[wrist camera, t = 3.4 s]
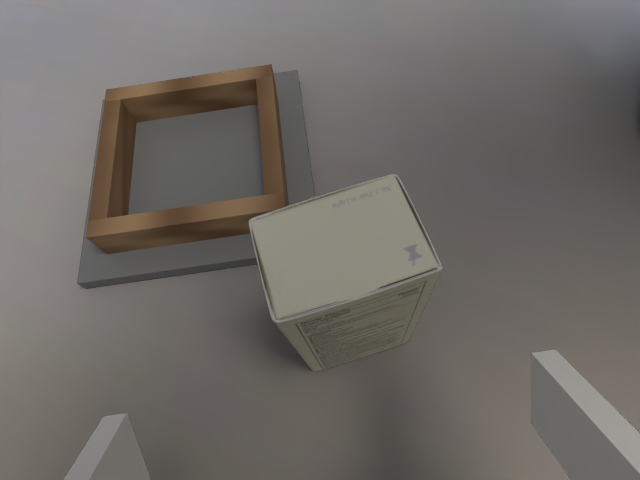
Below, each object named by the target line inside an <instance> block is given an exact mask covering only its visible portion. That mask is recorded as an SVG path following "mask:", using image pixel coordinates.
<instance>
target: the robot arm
mask: <svg viewBox="0 0 640 480" xmlns="http://www.w3.org/2000/svg"><path fill="white" fill-rule="evenodd" d="M531 424H532V425H533V426H534V428H535V429H536V431H537V432H538V434H539V435H540V436H541V438H542V439H543V441H544V442H545V444H546V445H547V446H548V448H549V449H550V451H551V452H552V454H553V455H554V456H555V458H556V459H557V461H558V462H559V463H560V465H561V466H562V468H563V469H564V471H565V472H566V473H567V475H568V476H569V478H570V479H571V480H640V433H639V432H638V431H637V430H636V429H635V428H634V427H633V426H632V425H631V424H630V423H629V422H628V421H627V420H626V419H625V418H624V417H623V416H622V415H621V414H620V413H619V412H618V411H617V410H616V409H615V408H614V407H613V406H612V405H611V404H610V403H609V402H608V401H607V400H606V399H605V398H604V397H603V396H602V395H601V394H600V393H599V392H598V391H597V390H596V389H595V388H594V387H593V386H592V385H591V384H590V383H589V382H588V381H587V380H586V379H584V378H583V377H582V376H581V375H580V374H579V373H578V372H577V371H576V370H575V369H574V368H573V367H572V366H571V365H570V364H569V363H568V362H567V361H566V360H565V359H564V358H563V357H562V356H561V355H560V354H559V353H558V352H557V351H556V350H548V351H541V352H535V353H531ZM64 480H150V476H149V473H148V470H147V468H146V465H145V462H144V459H143V456H142V454H141V451H140V448H139V445H138V442H137V440H136V437H135V434H134V431H133V428H132V426H131V423H130V420H129V417H128V414H127V413H123V414H116V415H109V416H104V417H103V418H102V420H101V421H100V423H99V425H98V426H97V428H96V429H95V431H94V432H93V434H92V436H91V437H90V439H89V440H88V442H87V443H86V445H85V447H84V448H83V450H82V451H81V453H80V455H79V456H78V458H77V459H76V461H75V462H74V464H73V466H72V467H71V469H70V470H69V472H68V473H67V475H66V477H65V478H64Z"/></svg>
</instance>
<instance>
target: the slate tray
mask: <svg viewBox="0 0 640 480" xmlns="http://www.w3.org/2000/svg"><path fill="white" fill-rule="evenodd" d="M274 79H275V83H276V88H277V94H278V104H279V114H280V124H281V133H282V143H283V153H284V162H285V172H286V182H287V191H288V201H289V205H292V204H296V203H299V202H302V201H305V200H308V199H310V198H314V197H315V194H314V187H313V180H312V172H311V165H310V157H309V150H308V143H307V135H306V128H305V121H304V113H303V106H302V99H301V91H300V84H299V77H298V71H297V70H296V71H289V72H282V73H276V74H274ZM104 102H105V100H103V104H102V111H101V118H100V125H99V132H98V139H97V146H96V153H95V160H94V167H93V175H92V182H91V189H90V196H89V203H88V210H87V217H86V224H85V231H84V238H83V246H82V253H81V260H80V267H79V274H78V281H77V284H79V285H81V286H82V287H84V288H86V289H87V288H94V287H101V286H108V285H115V284H121V283H128V282H135V281H142V280H149V279H156V278H163V277H170V276H177V275H184V274H191V273H198V272H205V271H212V270H219V269H226V268H233V267H240V266H246V265H253V264H258V263H257V259H256V255H255V250H254V245H253V241H252V236H251V234H244V235H237V236H230V237H223V238H217V239H210V240H203V241H196V242H189V243H182V244H175V245H168V246H162V247H155V248H148V249H141V250H134V251H127V252H120V253H113V254H106V253H105V252H103V251H102V250H101V249H100V248H98V247H97V246H96V245H94V244H93V243H92V242H90V241H89V240H88V239H87V238H86V232H87V225H88V218H89V210H90V203H91V196H92V189H93V181H94V174H95V167H96V160H97V153H98V145H99V138H100V131H101V124H102V116H103V109H104ZM261 195H265V192H264V179H263V165H262V152H261V138H260V125H259V112H258V104H257V105H250V106H244V107H237V108H230V109H224V110H217V111H211V112H204V113H197V114H191V115H184V116H177V117H171V118H164V119H158V120H151V121H144V122H138V123H137V124H136V135H135V146H134V157H133V168H132V179H131V190H130V201H129V212H128V215H131V214H138V213H145V212H152V211H159V210H165V209H172V208H179V207H186V206H193V205H199V204H206V203H213V202H220V201H227V200H233V199H240V198H247V197H254V196H261Z"/></svg>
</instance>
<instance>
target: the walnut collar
mask: <svg viewBox="0 0 640 480" xmlns="http://www.w3.org/2000/svg"><path fill="white" fill-rule="evenodd" d="M257 104H258V112H259V125H260V138H261V152H262V165H263V179H264V192H265V195H261V196H254V197H247V198H240V199H233V200H227V201H220V202H213V203H206V204H199V205H193V206H186V207H179V208H172V209H165V210H159V211H152V212H145V213H138V214H131V215H128V212H129V201H130V190H131V179H132V168H133V157H134V146H135V135H136V124H137V123H138V122H144V121H151V120H158V119H164V118H171V117H177V116H184V115H191V114H197V113H204V112H211V111H217V110H224V109H230V108H237V107H244V106H250V105H257ZM287 206H289V201H288V191H287V182H286V172H285V162H284V153H283V143H282V133H281V124H280V114H279V104H278V94H277V88H276V83H275V79H274V74H273V70H272V66H271V65H264V66H258V67H251V68H245V69H238V70H232V71H225V72H219V73H212V74H206V75H199V76H192V77H186V78H179V79H173V80H166V81H160V82H153V83H147V84H140V85H134V86H127V87H121V88H114V89H107V90H106V95H105V102H104V109H103V116H102V124H101V131H100V138H99V145H98V153H97V160H96V167H95V174H94V181H93V189H92V196H91V203H90V210H89V218H88V225H87V232H86V238H87V239H88V240H89V241H90V242H92V243H93V244H94V245H96V246H97V247H98V248H100V249H101V250H102V251H103V252H105V253H106V254H113V253H120V252H127V251H134V250H141V249H148V248H155V247H162V246H168V245H175V244H182V243H189V242H196V241H203V240H210V239H217V238H223V237H230V236H237V235H244V234H251V232H250V228H249V220H250V219H252V218H254V217H257V216H260V215H263V214H265V213H269V212H272V211H275V210H278V209H281V208H284V207H287Z"/></svg>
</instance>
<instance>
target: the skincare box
mask: <svg viewBox="0 0 640 480" xmlns="http://www.w3.org/2000/svg"><path fill="white" fill-rule="evenodd" d="M249 228H250V232H251V236H252V241H253V245H254V250H255V255H256V259H257V263H258V268H259V272H260V276H261V281H262V285H263V289H264V293H265V296H266V300H267V304H268V308H269V312H270V315H271V319H272V320H273V322H274V323H275V324H276V325H277V326H278V328H279V329H280V330H281V331H282V333H283V334H284V335H285V336H286V338H287V339H288V340H289V342H290V343H291V344H292V345H293V347H294V348H295V349H296V350H297V352H298V353H299V354H300V356H301V357H302V358H303V360H304V361H305V362H306V363H307V365H308V366H309V367H310V368H311V370H312V371H314V372H316V371H320V370H323V369H327V368H330V367H333V366H337V365H340V364H343V363H346V362H350V361H353V360H356V359H359V358H362V357H365V356H368V355H372V354H375V353H378V352H381V351H384V350H387V349H389V348H392V347H395V346H398V345H401V344H404V343H406V342H408V341H409V340H410V338H411V336H412V333H413V331H414V329H415V327H416V325H417V323H418V320H419V318H420V316H421V314H422V312H423V310H424V308H425V305H426V304H427V301H428V299H429V297H430V295H431V292H432V290H433V288H434V286H435V284H436V282H437V280H438V278H439V276H440V273H441V271H442V269H443V267H442V265H441V263H440V261H439V259H438V256H437V254H436V251H435V249H434V247H433V245H432V243H431V241H430V238H429V236H428V234H427V232H426V229H425V227H424V225H423V223H422V221H421V219H420V217H419V215H418V213H417V211H416V208H415V206H414V204H413V202H412V200H411V198H410V196H409V194H408V193H407V191H406V189H405V187H404V185H403V183H402V181H401V179H400V177H399V176H398V175H397V174H391V175H387V176H384V177H380V178H377V179H373V180H369V181H365V182H362V183H359V184H356V185H352V186H349V187H346V188H343V189H339V190H336V191H333V192H329V193H326V194H324V195H321V196H318V197H314V198H310V199H308V200H305V201H302V202H299V203H296V204H292V205H289V206H287V207H284V208H281V209H278V210H275V211H272V212H269V213H265V214H263V215H260V216H257V217H254V218H252V219H250V220H249Z"/></svg>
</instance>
